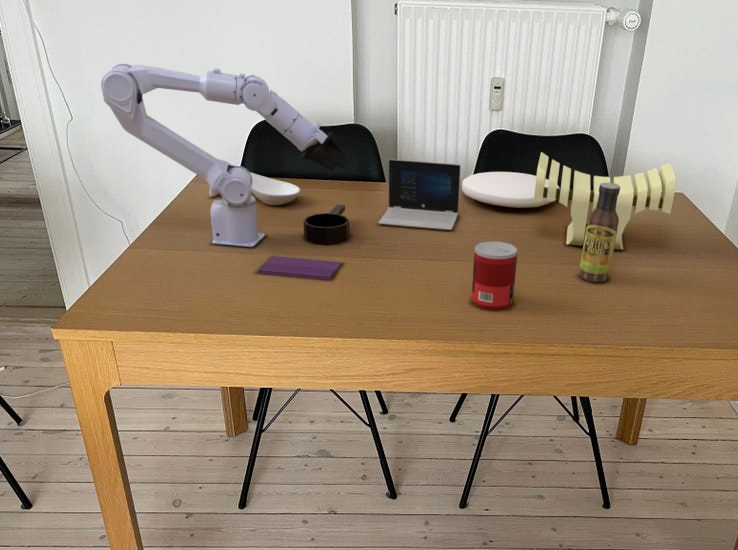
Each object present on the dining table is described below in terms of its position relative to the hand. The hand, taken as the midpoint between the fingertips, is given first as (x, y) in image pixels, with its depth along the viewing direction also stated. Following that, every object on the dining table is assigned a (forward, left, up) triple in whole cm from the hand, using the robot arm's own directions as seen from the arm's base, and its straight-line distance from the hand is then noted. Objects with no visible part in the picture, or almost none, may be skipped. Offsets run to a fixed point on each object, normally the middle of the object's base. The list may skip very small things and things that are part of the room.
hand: (340, 166), depth 160 cm
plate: (+36, +40, -17) cm, 57 cm away
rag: (-3, -20, -16) cm, 26 cm away
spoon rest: (-29, +21, -17) cm, 40 cm away
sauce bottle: (+57, -11, -17) cm, 60 cm away
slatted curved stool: (+58, +13, -17) cm, 62 cm away
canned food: (+37, -28, -17) cm, 49 cm away
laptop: (+15, +16, -17) cm, 28 cm away
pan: (-3, +3, -16) cm, 17 cm away
